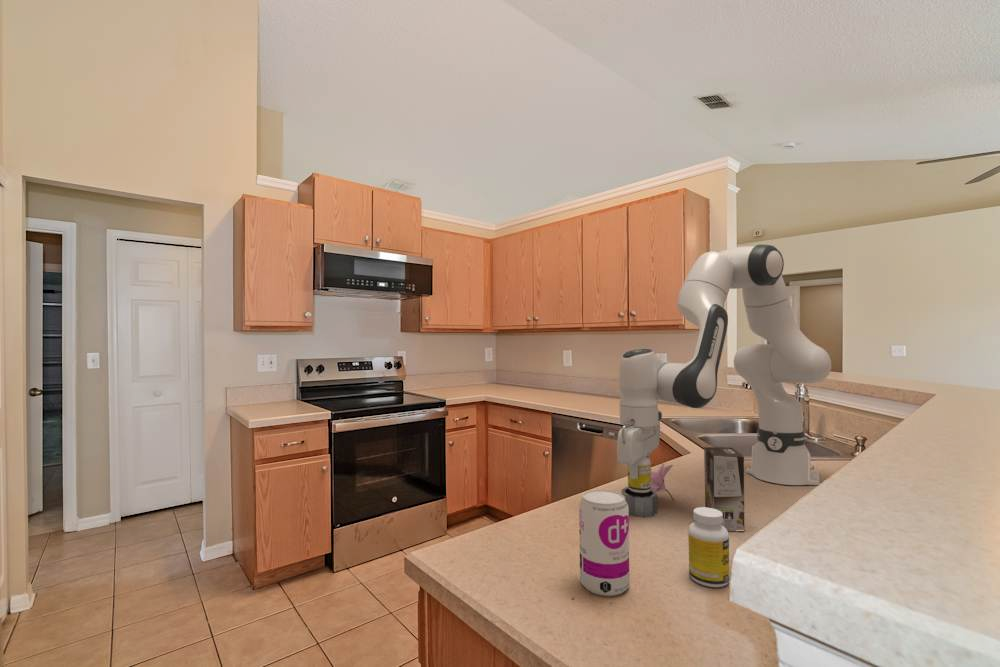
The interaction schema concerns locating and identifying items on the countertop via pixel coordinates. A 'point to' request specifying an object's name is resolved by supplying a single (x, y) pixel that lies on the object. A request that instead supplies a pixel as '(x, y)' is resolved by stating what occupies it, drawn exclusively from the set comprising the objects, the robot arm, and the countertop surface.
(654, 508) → the collar
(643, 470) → the supplement bottle
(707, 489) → the coffee box
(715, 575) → the pill bottle
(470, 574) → the countertop surface
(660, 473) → the lily
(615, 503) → the supplement can
